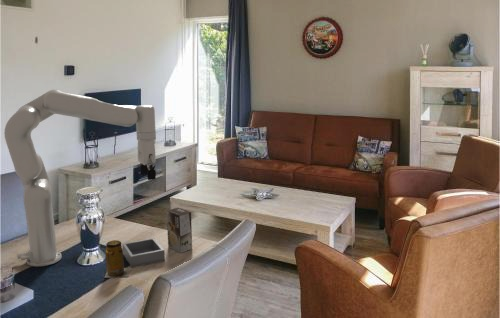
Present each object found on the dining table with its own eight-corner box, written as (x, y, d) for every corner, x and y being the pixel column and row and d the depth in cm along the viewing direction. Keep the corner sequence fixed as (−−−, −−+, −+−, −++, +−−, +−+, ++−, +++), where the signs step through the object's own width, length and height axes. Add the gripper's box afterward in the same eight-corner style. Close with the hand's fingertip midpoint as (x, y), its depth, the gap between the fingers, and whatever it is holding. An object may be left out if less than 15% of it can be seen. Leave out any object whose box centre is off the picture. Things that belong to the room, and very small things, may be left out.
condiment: (108, 269, 173) (106, 239, 171) (131, 268, 174) (129, 238, 172) (104, 278, 166) (102, 247, 164) (128, 277, 167) (126, 246, 164)
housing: (131, 267, 174) (131, 256, 174) (123, 254, 187) (122, 243, 186) (164, 260, 180) (164, 249, 179) (154, 247, 193) (153, 237, 192)
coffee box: (193, 248, 192) (192, 212, 188) (181, 253, 187) (179, 215, 184) (179, 242, 198) (178, 207, 194) (167, 247, 193) (165, 210, 190)
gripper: (131, 133, 193) (133, 173, 196) (143, 139, 178) (145, 182, 182) (148, 132, 196) (150, 171, 200) (162, 138, 182) (163, 180, 185)
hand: (148, 176), depth 191 cm, fingers open, 9 cm apart
